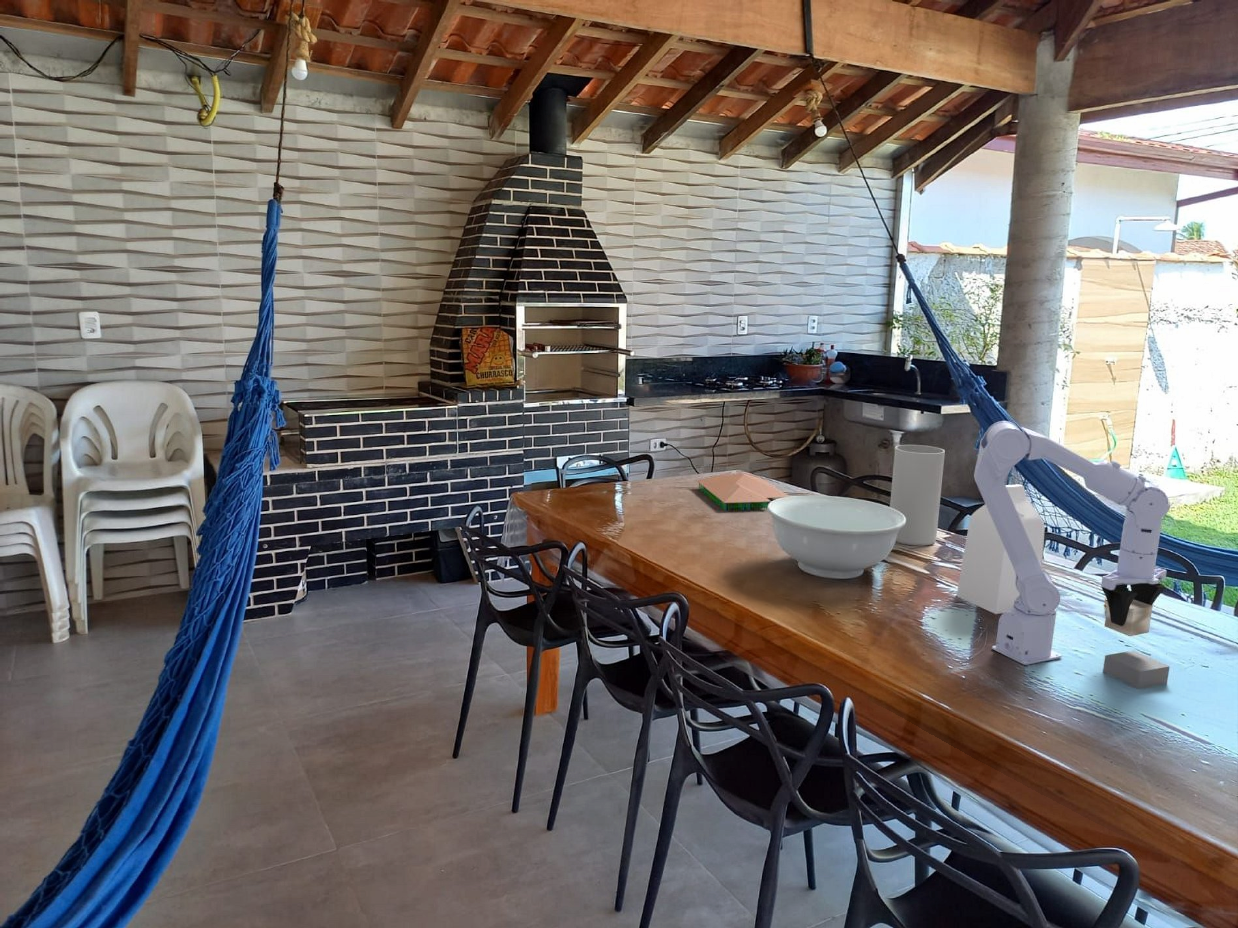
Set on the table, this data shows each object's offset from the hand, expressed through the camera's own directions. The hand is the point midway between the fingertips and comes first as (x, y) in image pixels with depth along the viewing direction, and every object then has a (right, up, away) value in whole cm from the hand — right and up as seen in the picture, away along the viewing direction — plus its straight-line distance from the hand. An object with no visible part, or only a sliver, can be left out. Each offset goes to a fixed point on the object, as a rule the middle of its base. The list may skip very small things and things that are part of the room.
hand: (1127, 621), depth 157 cm
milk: (-9, -2, +33) cm, 34 cm away
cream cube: (0, -1, 0) cm, 2 cm away
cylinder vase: (-13, +8, +78) cm, 80 cm away
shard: (+13, -4, +27) cm, 30 cm away
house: (-53, +17, +121) cm, 133 cm away
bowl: (-41, +3, +53) cm, 67 cm away
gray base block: (-1, -10, -3) cm, 10 cm away
